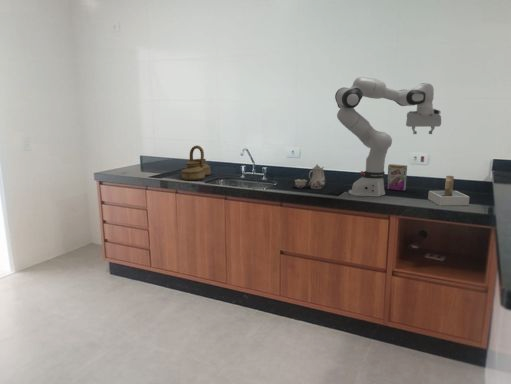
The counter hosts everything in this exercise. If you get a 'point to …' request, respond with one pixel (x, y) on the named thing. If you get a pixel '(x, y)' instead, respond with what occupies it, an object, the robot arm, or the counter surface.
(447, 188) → the wooden peg
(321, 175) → the chinaware
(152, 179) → the counter surface
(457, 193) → the bore box
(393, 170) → the candy bar box
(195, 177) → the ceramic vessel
